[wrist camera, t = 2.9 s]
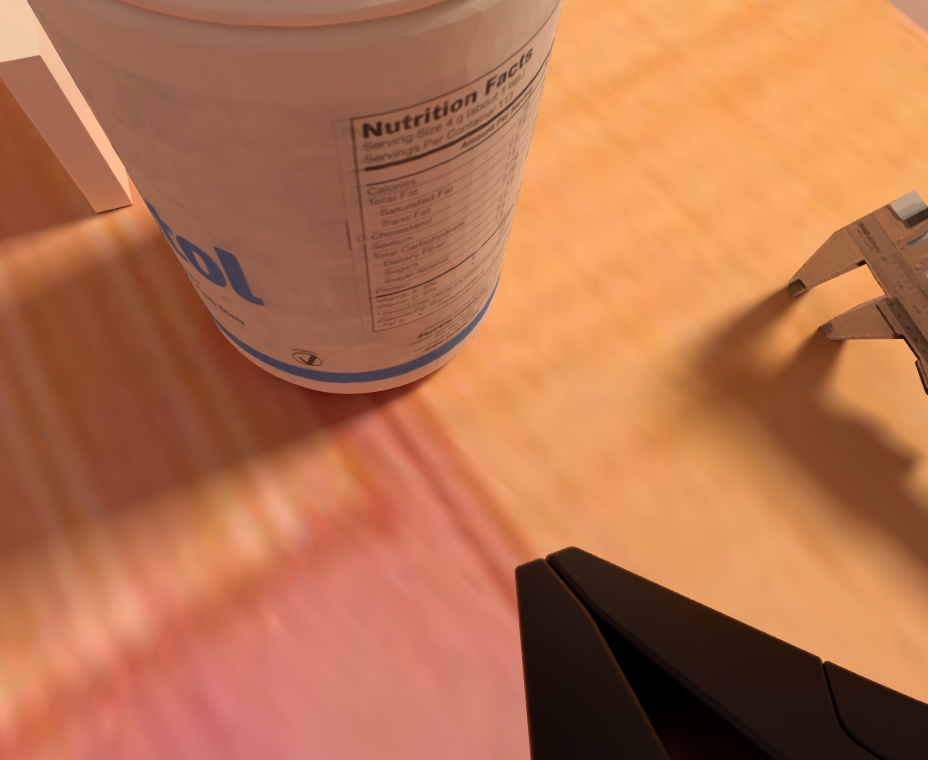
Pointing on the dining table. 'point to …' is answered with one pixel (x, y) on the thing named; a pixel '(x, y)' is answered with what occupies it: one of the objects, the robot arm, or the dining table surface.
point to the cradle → (58, 108)
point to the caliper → (880, 276)
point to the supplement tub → (323, 163)
